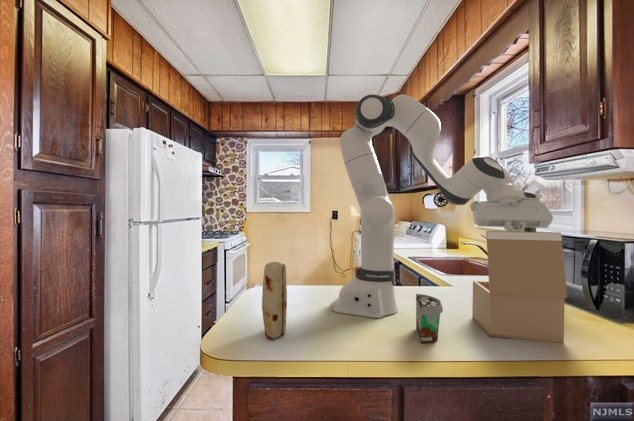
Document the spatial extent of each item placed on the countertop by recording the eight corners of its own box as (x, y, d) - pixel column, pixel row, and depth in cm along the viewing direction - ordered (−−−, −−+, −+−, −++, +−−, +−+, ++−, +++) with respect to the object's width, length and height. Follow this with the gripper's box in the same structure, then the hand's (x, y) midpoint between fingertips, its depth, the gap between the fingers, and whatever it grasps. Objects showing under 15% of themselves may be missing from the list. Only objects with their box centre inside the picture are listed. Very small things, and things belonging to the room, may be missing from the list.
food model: (264, 327, 87) (265, 259, 87) (287, 327, 87) (288, 259, 87) (259, 343, 77) (259, 265, 77) (285, 342, 78) (285, 265, 77)
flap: (489, 293, 82) (490, 293, 81) (486, 231, 84) (487, 231, 84) (565, 297, 78) (567, 297, 78) (559, 232, 81) (561, 232, 81)
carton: (489, 337, 82) (490, 293, 82) (472, 318, 96) (472, 280, 95) (563, 342, 79) (564, 297, 79) (534, 322, 92) (535, 283, 92)
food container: (447, 348, 75) (447, 308, 75) (421, 346, 76) (422, 307, 76) (437, 328, 87) (438, 294, 87) (415, 326, 88) (416, 293, 88)
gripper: (471, 194, 94) (482, 227, 84) (544, 194, 90) (564, 229, 80) (466, 208, 98) (476, 241, 89) (536, 209, 94) (554, 244, 85)
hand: (518, 236), depth 84 cm, fingers closed
